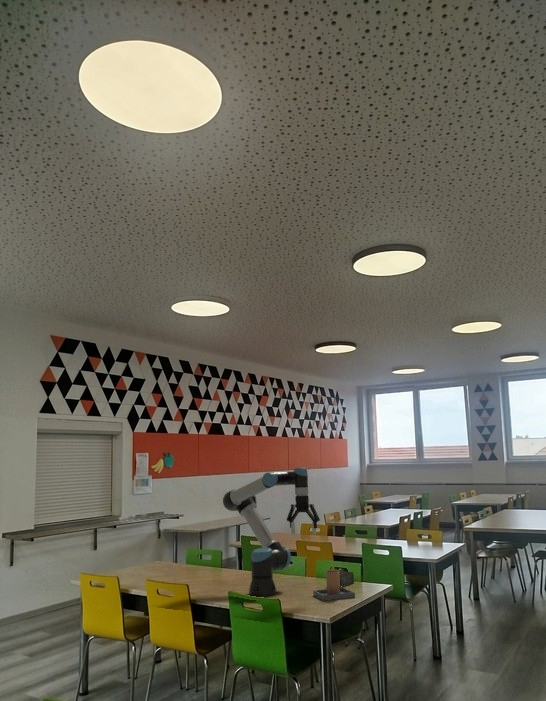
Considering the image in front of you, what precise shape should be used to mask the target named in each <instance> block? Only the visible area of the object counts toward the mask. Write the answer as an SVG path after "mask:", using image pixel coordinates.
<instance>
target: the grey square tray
mask: <svg viewBox="0 0 546 701" xmlns="http://www.w3.org/2000/svg"><path fill="white" fill-rule="evenodd" d="M312 592H313V595H314V596H313V597H315V596H316V597H315V598H317V597H318V598H317V599H319V598H320V600H321V599H322V600H321V601H323V600H327V601H333V600H332V599H337V600H342V599H341V598H346V599H352V598H351V597H355V598H356V593H355V591H353V590H350V589H348V588H346V587H340V594H331V595H327V588H326V589H315V590H313V591H312Z"/></svg>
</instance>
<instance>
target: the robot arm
mask: <svg viewBox="0 0 546 701" xmlns="http://www.w3.org/2000/svg"><path fill="white" fill-rule="evenodd" d="M308 478H309V475H308V468H307V467H295V468H294V470H293V471H269V472H264V474H263V476H261V477H260V478H257V479H255V480H253V481H251V482H249V483H247V484H245V485H244V486H242V487H238V488H237V489H232V490H230V491H228V492H226V493H225V494H224V495H223V497H222V504H223V507H224V508H225V509H226V510H228V511H231V512H236V511H237V512H238V514H239V515H240V516H241V517H243V518H244V519H245V521H246V522H247V524H248V526H249V527H250V529H251V531H252V532H253V534H254V536H255V538H256V540H257V541H258V543H259V544H260V546H261V548H256V549H254V550H252V551H251V556H250V560H251V561H250V562H251V563H250V564H251V565H250V566H251V581H250V584H249V588H248V595H249V594H252V595H259V596H258V597H267V596H273V595H276V594H277V587H276V584H275V582H274V578H273V577H274V576H273V572H276V571H280V570H283V569H286V568H288V567H289V566H290V563H291V561H292V560H291V558H292V555H291V551H290V549H288V548H287V547H286V546H285V547H284V546H282V543H280V541H277V540H276V539H275V538H274V536H273V534H272V532H271V531H270V529H269V528H268V526H267V524H266V522H265V521H264V519H263V518H262V516H261V515H260V513H259V511H258V510H257V508H258V504H257V497H256V496H257V495H258V494H261V493H263V492H265V491H267V490H268V489H271V488H274V487H276V486H294V493H295V494H294V495H295V498H294V499H295V504H294V503H292V504H290V510H289V511H288V512H289V513H288V514H287V517H286V521H287V522H289V528H290V531H291V534H290V535H295V534H296V525H295V519H296V518H297V516H298V515H299V514H300V513H305V514H306V515H307V516H308V517H309V518H310V519H311V521H312V522H311V529H312V530H311V532H312V536H314V535H317V528H318V522H320V521H321V518H320V517H319V514H318V512H317V511H316V508H315V504H314V503H310V504H309V502H310V499H309V479H308ZM252 595H251V596H252Z"/></svg>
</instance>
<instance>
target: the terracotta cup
mask: <svg viewBox="0 0 546 701" xmlns="http://www.w3.org/2000/svg"><path fill="white" fill-rule="evenodd" d="M339 573H340V570H339V569H326V571H325V575H326V576H325V578H326V589H327V595H331V594H340V588H341V587H340V577H339Z"/></svg>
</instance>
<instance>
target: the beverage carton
mask: <svg viewBox="0 0 546 701" xmlns="http://www.w3.org/2000/svg"><path fill="white" fill-rule="evenodd" d="M339 577H340V588H342V587H341V586H344V585H346V586H348V585H347V584H349V585H351V584H354V583H355V577H354V572H353V571H339ZM353 582H354V583H353ZM350 583H351V584H350ZM344 587H345V586H344Z"/></svg>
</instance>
